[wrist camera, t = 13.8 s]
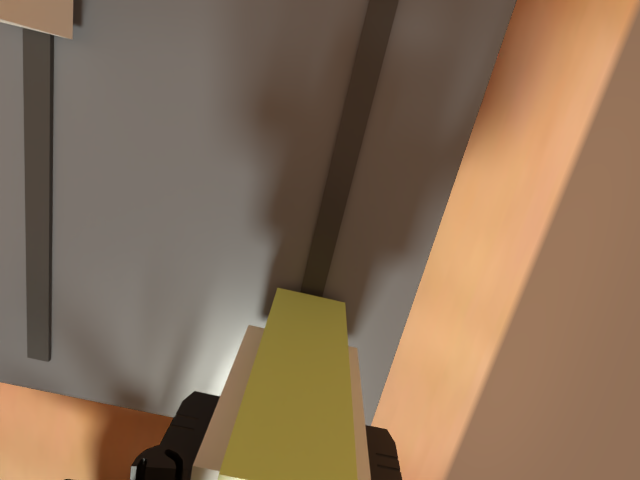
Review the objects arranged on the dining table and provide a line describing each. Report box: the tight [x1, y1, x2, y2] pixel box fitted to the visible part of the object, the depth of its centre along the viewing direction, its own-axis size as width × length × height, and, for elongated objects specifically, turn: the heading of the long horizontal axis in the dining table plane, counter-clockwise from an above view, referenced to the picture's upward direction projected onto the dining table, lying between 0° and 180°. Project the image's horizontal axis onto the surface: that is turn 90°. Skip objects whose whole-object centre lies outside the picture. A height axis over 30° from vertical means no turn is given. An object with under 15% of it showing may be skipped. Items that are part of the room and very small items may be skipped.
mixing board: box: [0, 0, 517, 426], centre depth 17 cm, size 21×24×2 cm
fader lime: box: [218, 288, 358, 480], centre depth 13 cm, size 3×5×9 cm, turn 167°
